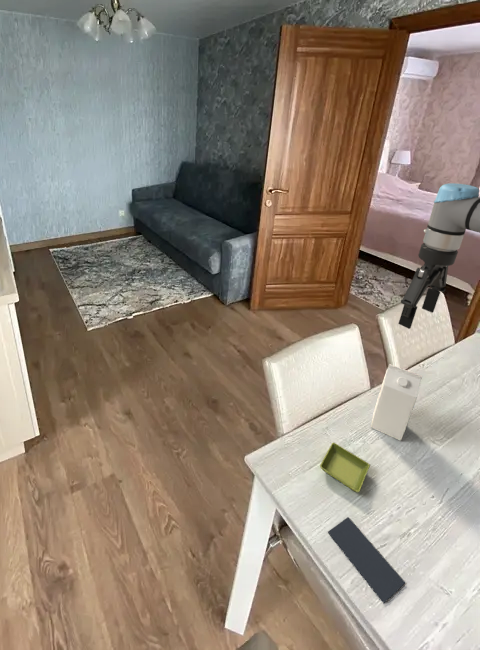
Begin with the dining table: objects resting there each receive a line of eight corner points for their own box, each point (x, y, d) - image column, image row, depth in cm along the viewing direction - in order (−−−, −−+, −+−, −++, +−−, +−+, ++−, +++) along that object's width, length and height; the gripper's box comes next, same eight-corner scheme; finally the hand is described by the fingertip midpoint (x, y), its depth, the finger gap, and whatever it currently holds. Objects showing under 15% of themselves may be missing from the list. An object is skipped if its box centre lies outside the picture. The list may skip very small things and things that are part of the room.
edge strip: (404, 583, 62) (405, 582, 62) (383, 603, 60) (384, 602, 60) (347, 517, 72) (348, 516, 72) (327, 532, 70) (327, 531, 70)
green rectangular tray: (357, 499, 76) (359, 492, 75) (317, 472, 81) (319, 466, 80) (368, 470, 82) (370, 464, 81) (331, 447, 87) (332, 441, 86)
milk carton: (374, 409, 98) (390, 356, 91) (403, 422, 94) (422, 367, 87) (370, 427, 93) (387, 372, 85) (401, 441, 89) (421, 385, 82)
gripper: (443, 232, 95) (421, 298, 103) (399, 252, 82) (378, 325, 90) (476, 241, 90) (451, 310, 98) (435, 263, 77) (409, 341, 85)
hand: (416, 317), depth 94 cm, fingers open, 13 cm apart
